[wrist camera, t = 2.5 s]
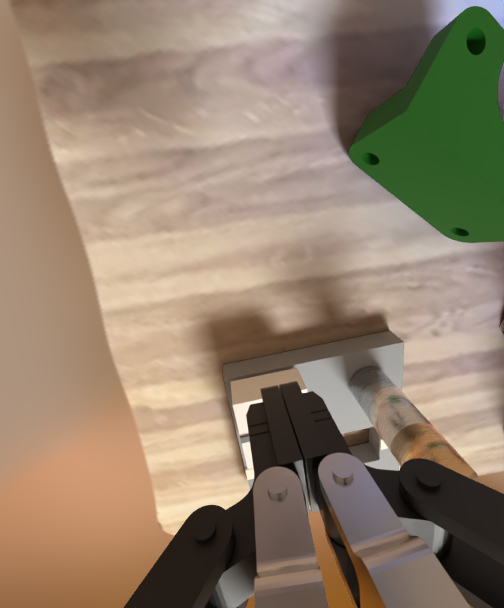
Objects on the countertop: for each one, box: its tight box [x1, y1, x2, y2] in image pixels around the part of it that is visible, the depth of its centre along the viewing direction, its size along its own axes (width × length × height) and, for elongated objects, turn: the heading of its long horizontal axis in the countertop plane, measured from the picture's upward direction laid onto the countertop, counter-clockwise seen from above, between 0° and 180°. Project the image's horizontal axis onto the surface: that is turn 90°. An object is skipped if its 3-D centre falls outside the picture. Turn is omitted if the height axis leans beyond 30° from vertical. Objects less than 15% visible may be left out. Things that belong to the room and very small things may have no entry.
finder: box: [231, 368, 307, 469], centre depth 21 cm, size 6×5×3 cm
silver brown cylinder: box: [349, 366, 478, 482], centre depth 19 cm, size 3×3×9 cm
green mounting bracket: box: [349, 6, 504, 243], centre depth 17 cm, size 12×6×9 cm, turn 52°
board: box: [223, 330, 404, 490], centre depth 26 cm, size 14×14×2 cm
